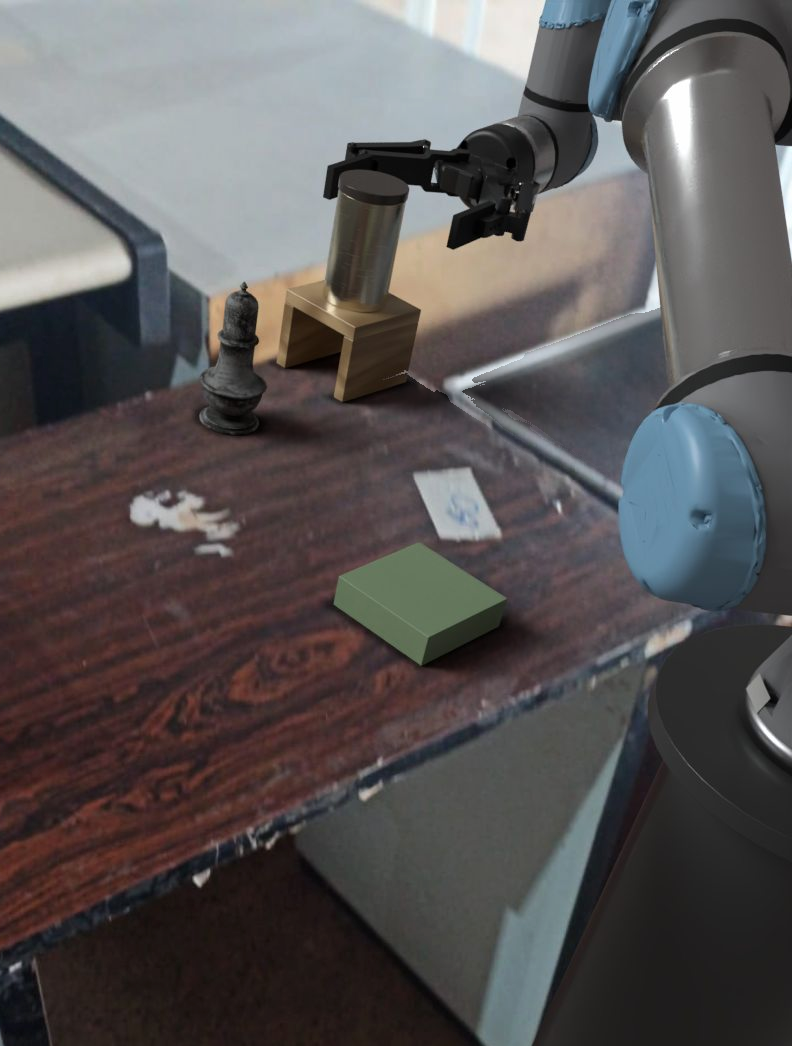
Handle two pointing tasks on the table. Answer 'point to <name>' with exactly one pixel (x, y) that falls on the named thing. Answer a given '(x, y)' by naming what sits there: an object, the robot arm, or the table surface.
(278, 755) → the table surface
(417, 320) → the wooden arch stand
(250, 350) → the salt shaker
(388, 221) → the tin
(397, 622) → the green flat square block
